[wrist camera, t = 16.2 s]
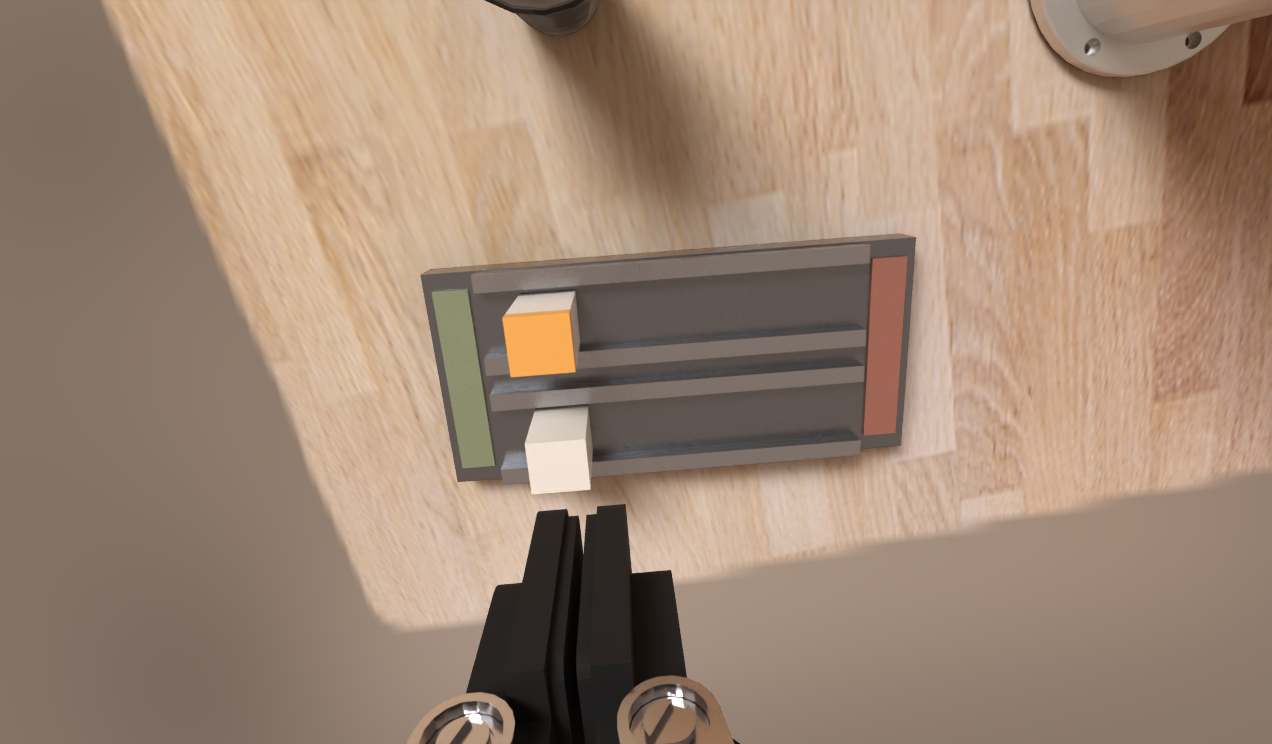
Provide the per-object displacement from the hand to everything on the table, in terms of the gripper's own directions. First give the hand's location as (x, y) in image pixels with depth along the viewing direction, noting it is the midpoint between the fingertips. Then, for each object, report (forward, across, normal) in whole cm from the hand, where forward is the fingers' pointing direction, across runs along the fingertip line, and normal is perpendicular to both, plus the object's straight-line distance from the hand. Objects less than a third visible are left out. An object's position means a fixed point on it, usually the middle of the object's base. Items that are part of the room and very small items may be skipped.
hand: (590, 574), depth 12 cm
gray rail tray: (+27, -4, +4) cm, 28 cm away
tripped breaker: (+25, +3, +1) cm, 25 cm away
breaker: (+25, +3, +8) cm, 26 cm away
